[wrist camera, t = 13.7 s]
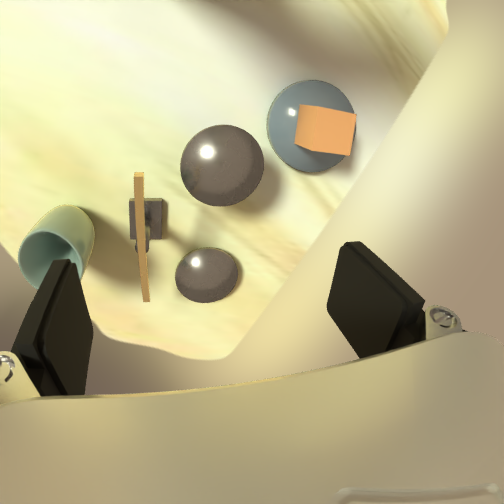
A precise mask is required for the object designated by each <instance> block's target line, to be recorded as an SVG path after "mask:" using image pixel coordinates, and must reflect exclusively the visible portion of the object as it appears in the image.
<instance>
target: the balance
mask: <svg viewBox="0 0 504 504" xmlns="http://www.w3.org/2000/svg"><path fill="white" fill-rule="evenodd" d="M263 169H264V158H263V153H262V151H261V148H260V146H259V144H258V143H257V141H256V140H255V139H254V138H253V136H252V135H250V134H249V133H248V132H246V131H245V130H243V129H241V128H238V127H235V126H232V125H215V126H211V127H208V128H206V129H204V130H202V131H200V132H199V133H197V134H196V135H195V136H194V137H193V138H192V139H191V140H190V141H189V142H188V144H187V145H186V147H185V149H184V151H183V154H182V157H181V163H180V171H181V177H182V180H183V183H184V185H185V187H186V188H187V190H188V191H189V192H190V194H191V195H192V196H193V197H195V198H196V199H197V200H199V201H201V202H203V203H205V204H208V205H212V206H229V205H233V204H236V203H238V202H240V201H242V200H244V199H245V198H246V197H248V196H249V195H250V194H251V193H252V192H253V191H254V190H255V189H256V187H257V186H258V184H259V182H260V180H261V177H262V174H263ZM134 196H135V198H132V199H130V200H129V216H130V239H137V240H136V246H135V250H136V252H137V253H138V257H139V268H140V277H141V286H142V295H143V302H150V293H149V282H148V270H147V255H146V253H147V252H148V250H149V239H162V198H144V172H135V173H134ZM237 277H238V271H237V267H236V264H235V262H234V260H233V259H232V257H231V256H230V255H229V254H227V253H226V252H224V251H222V250H220V249H217V248H210V247H206V248H199V249H196V250H194V251H192V252H190V253H188V254H187V255H186V256H184V257H183V258H182V260H181V261H180V262H179V264H178V266H177V268H176V272H175V280H176V285H177V288H178V290H179V291H180V292H181V294H182V295H183V296H185V297H186V298H187V299H189V300H191V301H194V302H199V303H210V302H214V301H217V300H220V299H222V298H223V297H225V296H226V295H227V294H229V293H230V292H231V290H232V289H233V288H234V286H235V284H236V281H237Z"/></svg>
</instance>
